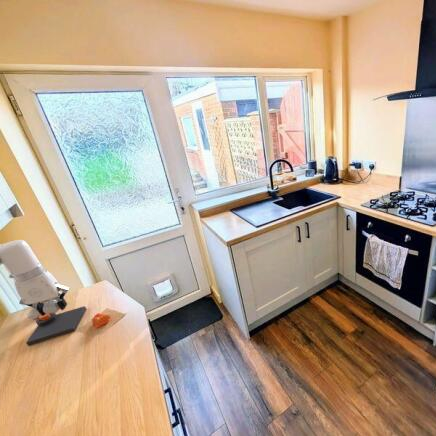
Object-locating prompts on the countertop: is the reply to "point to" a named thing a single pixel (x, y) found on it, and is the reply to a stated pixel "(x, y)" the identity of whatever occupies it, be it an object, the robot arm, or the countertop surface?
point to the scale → (56, 325)
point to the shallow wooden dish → (101, 322)
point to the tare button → (44, 317)
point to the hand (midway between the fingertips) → (54, 310)
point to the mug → (33, 312)
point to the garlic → (51, 307)
